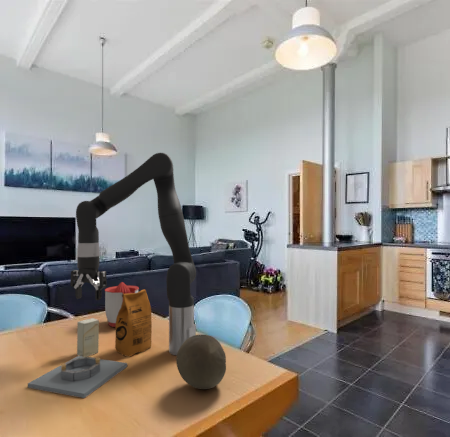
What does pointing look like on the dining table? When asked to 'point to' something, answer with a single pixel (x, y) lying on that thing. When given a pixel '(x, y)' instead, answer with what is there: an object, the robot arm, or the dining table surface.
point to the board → (77, 388)
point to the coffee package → (133, 324)
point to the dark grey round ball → (201, 361)
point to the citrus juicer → (116, 300)
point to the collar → (81, 374)
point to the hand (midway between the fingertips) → (88, 299)
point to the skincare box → (87, 337)
